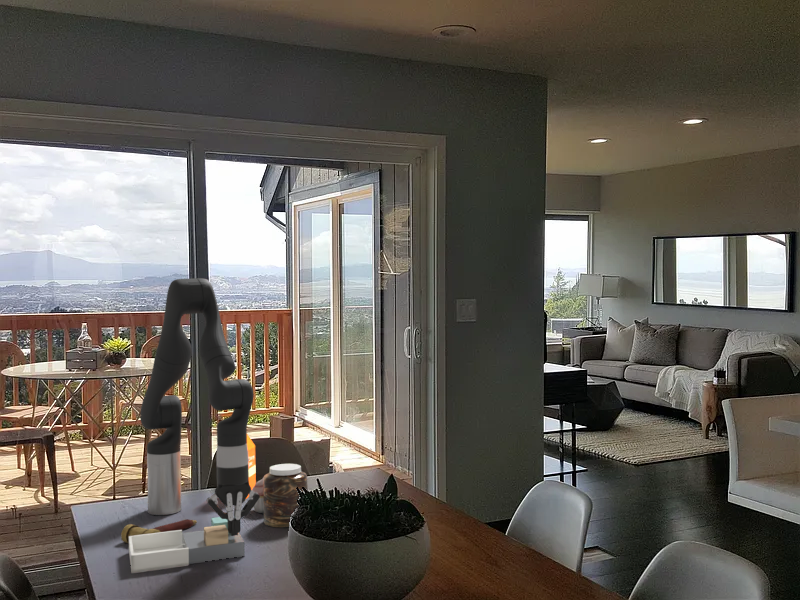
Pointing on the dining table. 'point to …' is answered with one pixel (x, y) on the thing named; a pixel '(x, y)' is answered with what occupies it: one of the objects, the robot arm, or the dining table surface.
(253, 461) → the orange juice
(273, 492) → the jar
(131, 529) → the gavel
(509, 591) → the dining table surface
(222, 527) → the thick tan wooden block
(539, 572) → the dining table surface
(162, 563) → the tray
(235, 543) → the board
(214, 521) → the seafoam green cuboid
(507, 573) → the dining table surface
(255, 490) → the cupcake
